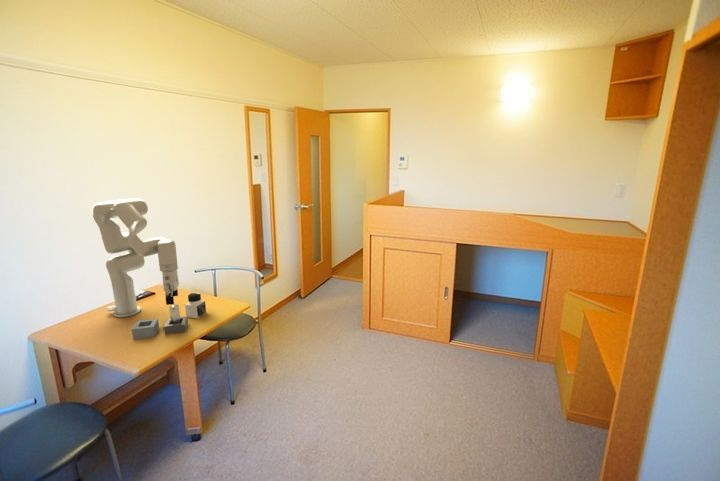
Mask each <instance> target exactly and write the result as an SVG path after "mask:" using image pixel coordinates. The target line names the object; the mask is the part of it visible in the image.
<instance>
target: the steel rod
mask: <svg viewBox="0 0 720 481" xmlns="http://www.w3.org/2000/svg"><path fill="white" fill-rule="evenodd" d="M168 309H169V315H170V318H171V324H179V323H181V321H180V317H181V315H180V307H179V304H175V303H174V304H171V305H169V308H168Z"/></svg>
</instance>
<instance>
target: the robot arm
mask: <svg viewBox="0 0 720 481" xmlns="http://www.w3.org/2000/svg"><path fill="white" fill-rule="evenodd" d="M148 208H149V207H148V205H147V203H146V201H144V200H143V199H141V198H127V199H126V198H125V199H124V198H123V199H117V200H108V201H102V202H97V203H95V204H93V206H92V209H91V214H92V218H93V220H94V222H95V224H96V225H97V227H98V228H99V231H100V235H101V240H102V243H103V247H104V249H105V251H106V253H108V254H111V255H112V254H113V255H114V254H118V253H122V254H119V255H115V256H112V257H110V258H108V259H107V260H106V262H105V268H106V270H107V272H108V275H109V279H110V282H111V288H112V293H113V294H112V295H113V299H114V305H113V306H112V305H111V306H107V307H106V310H107V312H112V316H114V317H116V318H126V317H130V316H134V315H137V314H138V313H140V312H141V310H142V308H141V306H139V305H138V303H137V296H136V292H135V284H134V280H133V278H132V277H131V276H130V275H129V274H128V273H129V272H134V271H135V270H140V269H141V268H143V267H144V266H145V261H146V260H145V257H150V256H154V255H156V254H157V259H158V267H159V271H160V272H161V273H162V284H163V291H164V292H165V294H164V296H165V305H167V306H168V305H169V306H171V305H175V299H174V297H178V295H179V291H178V288H179V284H180V282H179V281H180V280H179V275H178V269H179V266H178V257H177V248H176V246H177V245H176V242H175V241H174V240H172V239H168V238H166V237H164V236H158V237H153V238H148V239H144V240H141V239H140V237H139V236H138V234H139V233H140V232H142V231H143V230H145V229H146V227H147V225H148V220H147V219H146V218H145V217H144V215H146V214H147V213H148V211H149V209H148ZM115 218H119V219H120V221H121V222H122V223H123V225H125V227H126V228H127V229H128V232H122V230H121V227H120V225H119V223H118V222H117V221H116V220H114V219H115ZM127 251H128V253H124V252H127Z"/></svg>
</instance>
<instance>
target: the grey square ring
mask: <svg viewBox="0 0 720 481" xmlns="http://www.w3.org/2000/svg"><path fill="white" fill-rule="evenodd" d="M180 321H181V323H179V324H171V317H169V318H167V319H166V322H165V323H164V325H163V331H164V332H163V333H164V335H171V334H180V333H187V328H188V326H189V317H188V316H186V315H185V316H180Z"/></svg>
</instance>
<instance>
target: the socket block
mask: <svg viewBox="0 0 720 481" xmlns="http://www.w3.org/2000/svg"><path fill="white" fill-rule="evenodd" d="M159 329H160V322H159V318H151V319H139V320H136V322H135V324H134V325H133V327H132V328H131V334H132V339H133V340H137V339H147V338H154V337H156V335H157V333H158V331H159Z"/></svg>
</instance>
